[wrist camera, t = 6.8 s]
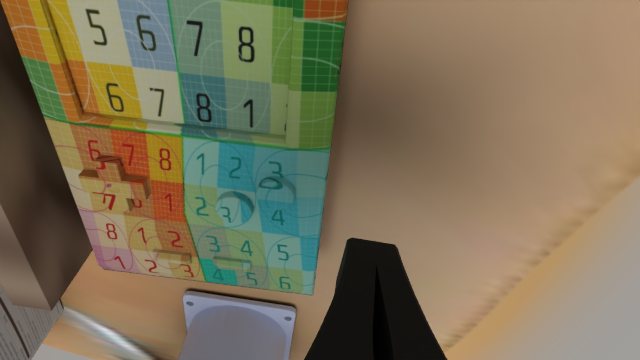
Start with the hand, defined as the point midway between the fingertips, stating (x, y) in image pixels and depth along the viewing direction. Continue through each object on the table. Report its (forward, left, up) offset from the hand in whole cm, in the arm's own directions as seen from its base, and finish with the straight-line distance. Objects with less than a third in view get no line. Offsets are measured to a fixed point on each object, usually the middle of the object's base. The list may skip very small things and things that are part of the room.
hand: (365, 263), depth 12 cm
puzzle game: (0, +7, -10) cm, 12 cm away
